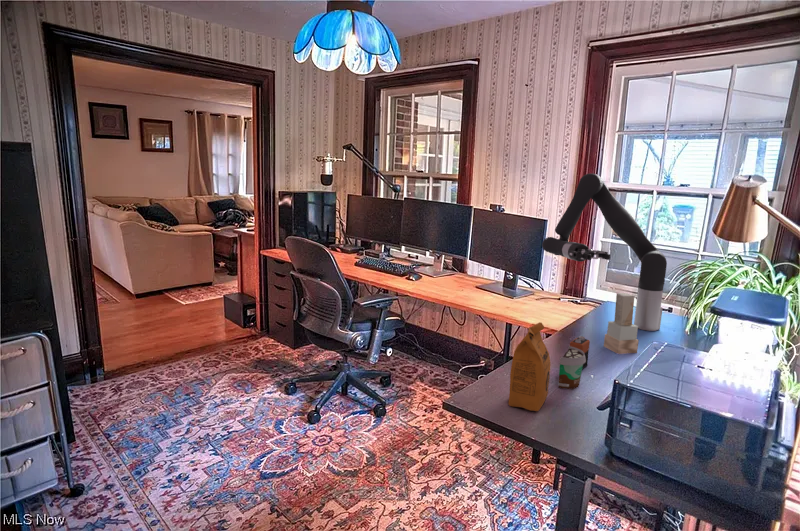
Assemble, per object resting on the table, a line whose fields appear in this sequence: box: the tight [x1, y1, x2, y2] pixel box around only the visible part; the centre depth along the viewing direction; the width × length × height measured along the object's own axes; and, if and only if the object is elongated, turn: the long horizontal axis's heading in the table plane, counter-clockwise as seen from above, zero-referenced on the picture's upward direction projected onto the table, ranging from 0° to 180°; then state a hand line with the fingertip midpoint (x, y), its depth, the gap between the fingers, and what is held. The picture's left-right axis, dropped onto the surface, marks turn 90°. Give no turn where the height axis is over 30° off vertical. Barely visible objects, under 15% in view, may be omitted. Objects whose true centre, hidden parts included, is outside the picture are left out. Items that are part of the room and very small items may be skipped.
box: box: [613, 292, 635, 325], centre depth 166 cm, size 5×4×11 cm
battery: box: [569, 335, 590, 370], centre depth 150 cm, size 4×7×10 cm, turn 138°
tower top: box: [606, 320, 639, 341], centre depth 167 cm, size 7×7×5 cm
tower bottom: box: [603, 333, 639, 355], centre depth 168 cm, size 8×8×5 cm
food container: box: [557, 345, 586, 390], centre depth 136 cm, size 12×6×10 cm, turn 148°
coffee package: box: [507, 322, 552, 412], centre depth 123 cm, size 10×12×22 cm
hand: (600, 257), depth 178 cm, fingers open, 8 cm apart
